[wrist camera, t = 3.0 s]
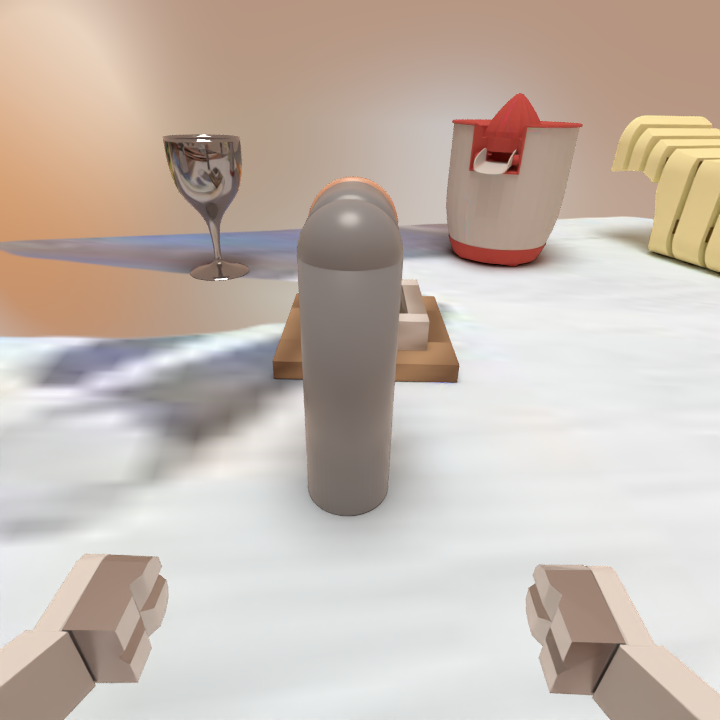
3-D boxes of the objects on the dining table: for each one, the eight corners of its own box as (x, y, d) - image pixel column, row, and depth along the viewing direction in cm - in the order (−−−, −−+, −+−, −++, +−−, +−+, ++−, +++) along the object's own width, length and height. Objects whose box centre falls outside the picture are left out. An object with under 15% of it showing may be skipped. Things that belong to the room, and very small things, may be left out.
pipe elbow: (391, 516, 23) (415, 208, 16) (301, 514, 23) (283, 206, 16) (385, 423, 30) (399, 177, 23) (315, 422, 30) (307, 175, 23)
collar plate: (274, 378, 35) (269, 331, 33) (297, 307, 47) (295, 269, 45) (456, 382, 35) (463, 335, 33) (432, 310, 47) (436, 272, 45)
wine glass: (258, 261, 60) (246, 135, 53) (245, 282, 53) (230, 140, 46) (197, 260, 60) (177, 133, 53) (176, 281, 53) (150, 138, 46)
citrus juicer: (416, 262, 61) (430, 89, 52) (458, 235, 75) (476, 94, 65) (536, 284, 55) (579, 91, 45) (559, 250, 68) (596, 95, 58)
